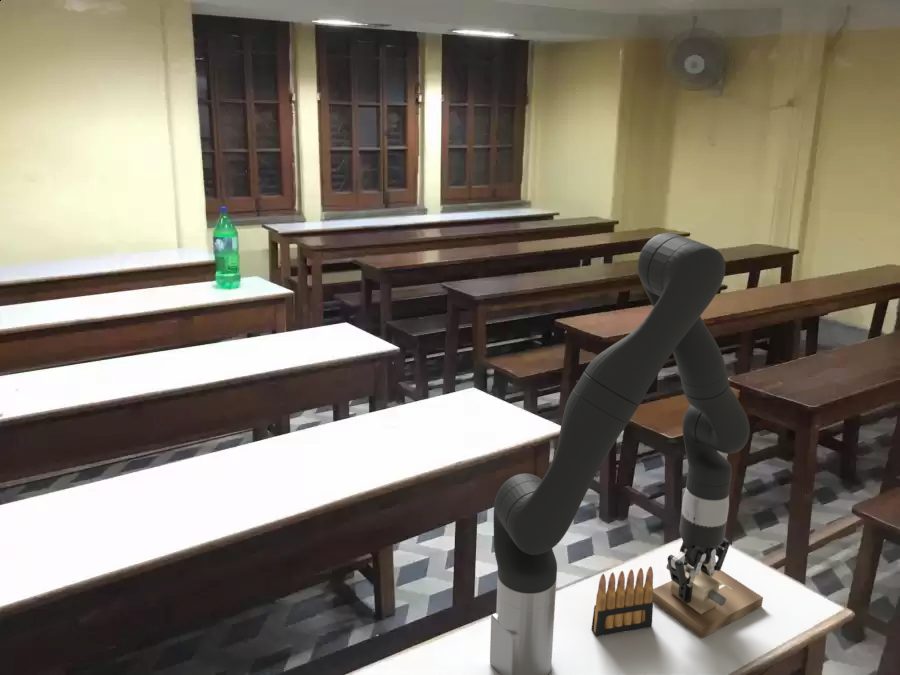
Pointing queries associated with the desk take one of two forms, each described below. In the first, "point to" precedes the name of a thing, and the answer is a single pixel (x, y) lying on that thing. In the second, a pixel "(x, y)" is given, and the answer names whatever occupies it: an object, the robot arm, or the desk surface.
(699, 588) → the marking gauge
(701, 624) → the walnut board
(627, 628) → the ammunition clip
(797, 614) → the desk surface
